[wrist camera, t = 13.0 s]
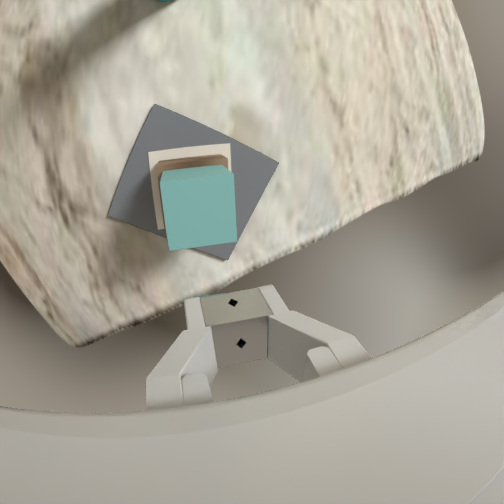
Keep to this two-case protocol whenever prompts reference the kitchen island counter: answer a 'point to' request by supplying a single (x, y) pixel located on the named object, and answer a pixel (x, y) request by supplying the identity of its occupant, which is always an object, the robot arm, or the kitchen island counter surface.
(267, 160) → the slate mat
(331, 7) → the kitchen island counter surface
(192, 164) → the walnut block
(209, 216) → the teal cube
